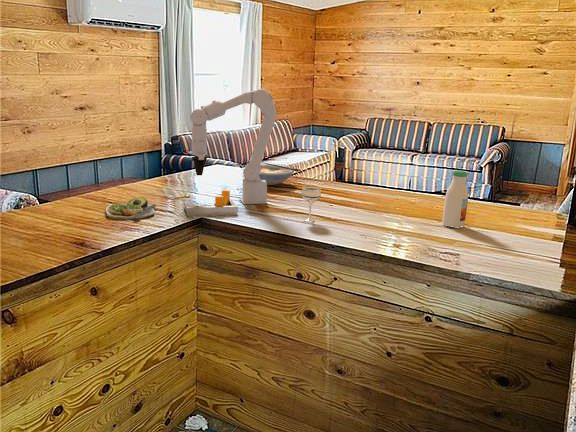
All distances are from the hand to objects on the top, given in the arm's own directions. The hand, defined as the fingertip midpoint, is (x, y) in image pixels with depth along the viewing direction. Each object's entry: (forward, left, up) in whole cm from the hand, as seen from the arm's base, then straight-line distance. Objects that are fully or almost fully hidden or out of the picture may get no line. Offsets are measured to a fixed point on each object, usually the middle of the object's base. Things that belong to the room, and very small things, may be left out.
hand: (199, 175), depth 207 cm
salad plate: (+26, +17, -10) cm, 33 cm away
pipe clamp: (-6, +16, -10) cm, 20 cm away
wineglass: (-35, +35, -10) cm, 51 cm away
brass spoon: (+7, -4, -10) cm, 13 cm away
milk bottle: (-85, +48, -10) cm, 98 cm away
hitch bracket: (-2, +18, -10) cm, 21 cm away
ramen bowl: (-35, -26, -10) cm, 45 cm away
